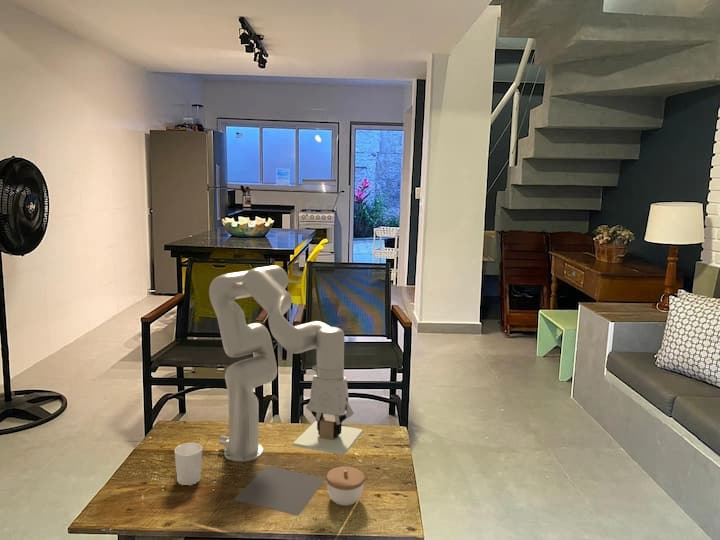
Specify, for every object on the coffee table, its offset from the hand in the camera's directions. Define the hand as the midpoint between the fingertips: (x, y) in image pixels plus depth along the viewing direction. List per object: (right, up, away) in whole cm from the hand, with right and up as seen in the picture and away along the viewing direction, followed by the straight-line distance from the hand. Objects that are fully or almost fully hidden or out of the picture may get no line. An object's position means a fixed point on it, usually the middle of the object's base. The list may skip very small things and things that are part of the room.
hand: (329, 433), depth 159 cm
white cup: (-43, -17, +10) cm, 47 cm away
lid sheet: (0, -1, 0) cm, 1 cm away
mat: (-14, -19, +7) cm, 24 cm away
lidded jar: (+4, -20, +3) cm, 21 cm away
